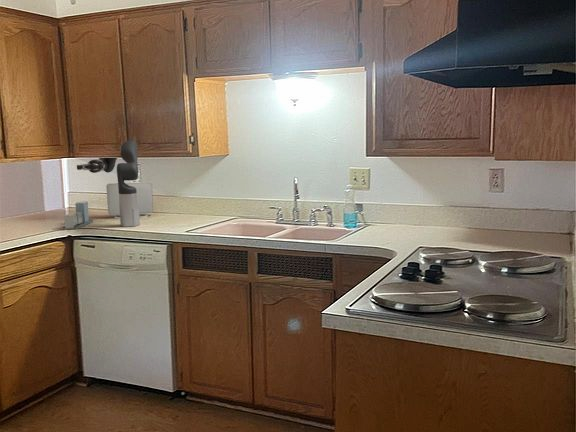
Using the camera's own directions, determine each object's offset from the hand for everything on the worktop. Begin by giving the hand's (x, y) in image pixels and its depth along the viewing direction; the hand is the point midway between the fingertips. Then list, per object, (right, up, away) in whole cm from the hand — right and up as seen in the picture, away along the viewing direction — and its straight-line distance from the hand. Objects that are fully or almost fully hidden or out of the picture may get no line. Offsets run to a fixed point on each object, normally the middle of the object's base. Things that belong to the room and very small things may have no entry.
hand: (86, 167), depth 326 cm
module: (0, -31, -6) cm, 31 cm away
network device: (+21, -28, +17) cm, 39 cm away
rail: (0, -32, -13) cm, 35 cm away
